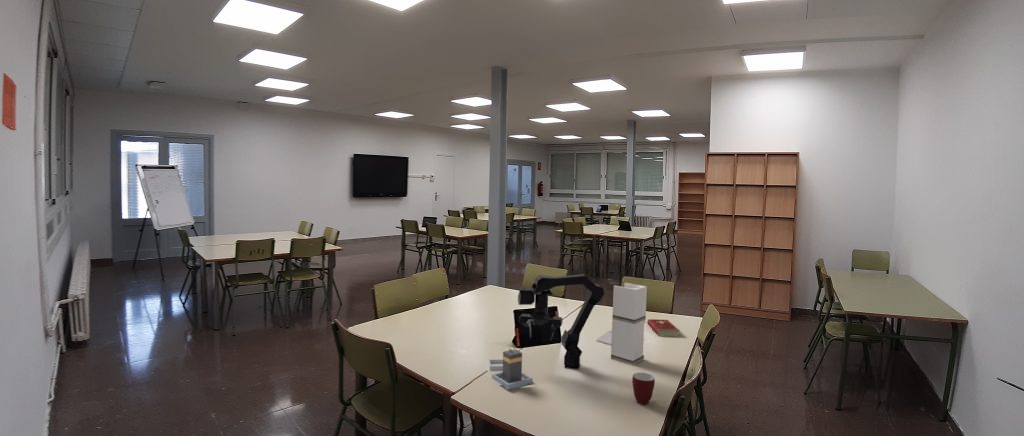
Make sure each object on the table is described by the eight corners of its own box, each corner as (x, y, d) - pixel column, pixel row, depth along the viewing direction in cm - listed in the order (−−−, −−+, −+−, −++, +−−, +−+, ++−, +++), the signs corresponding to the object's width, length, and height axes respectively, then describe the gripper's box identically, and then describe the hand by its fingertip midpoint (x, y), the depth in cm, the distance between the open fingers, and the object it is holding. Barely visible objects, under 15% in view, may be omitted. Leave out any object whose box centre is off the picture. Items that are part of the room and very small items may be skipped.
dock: (511, 363, 215) (511, 358, 215) (514, 372, 205) (514, 366, 205) (484, 364, 213) (485, 358, 213) (486, 372, 203) (486, 367, 203)
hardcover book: (657, 336, 261) (657, 329, 260) (647, 325, 282) (647, 318, 281) (679, 337, 260) (679, 329, 260) (667, 326, 281) (667, 319, 281)
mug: (635, 393, 187) (636, 368, 186) (656, 398, 183) (657, 372, 182) (629, 404, 177) (630, 378, 177) (651, 409, 174) (652, 382, 173)
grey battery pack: (514, 377, 198) (515, 345, 197) (521, 381, 194) (522, 349, 193) (502, 380, 195) (503, 348, 194) (509, 384, 191) (510, 352, 190)
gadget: (620, 349, 239) (620, 342, 239) (595, 342, 249) (595, 335, 249) (643, 340, 255) (643, 333, 255) (619, 333, 266) (619, 327, 265)
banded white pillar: (643, 359, 224) (646, 286, 222) (632, 365, 216) (635, 289, 214) (622, 353, 232) (625, 282, 230) (610, 358, 224) (613, 285, 222)
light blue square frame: (515, 374, 203) (515, 368, 203) (532, 384, 193) (532, 378, 193) (491, 380, 196) (491, 374, 196) (508, 390, 186) (508, 384, 186)
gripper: (516, 306, 203) (515, 342, 204) (559, 310, 199) (558, 347, 200) (522, 301, 214) (521, 334, 215) (563, 304, 210) (562, 339, 211)
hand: (540, 339), depth 210 cm, fingers open, 9 cm apart
